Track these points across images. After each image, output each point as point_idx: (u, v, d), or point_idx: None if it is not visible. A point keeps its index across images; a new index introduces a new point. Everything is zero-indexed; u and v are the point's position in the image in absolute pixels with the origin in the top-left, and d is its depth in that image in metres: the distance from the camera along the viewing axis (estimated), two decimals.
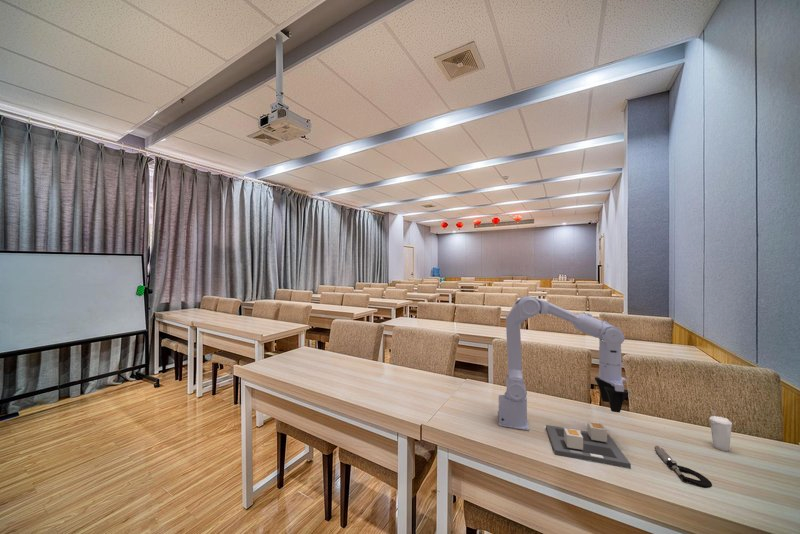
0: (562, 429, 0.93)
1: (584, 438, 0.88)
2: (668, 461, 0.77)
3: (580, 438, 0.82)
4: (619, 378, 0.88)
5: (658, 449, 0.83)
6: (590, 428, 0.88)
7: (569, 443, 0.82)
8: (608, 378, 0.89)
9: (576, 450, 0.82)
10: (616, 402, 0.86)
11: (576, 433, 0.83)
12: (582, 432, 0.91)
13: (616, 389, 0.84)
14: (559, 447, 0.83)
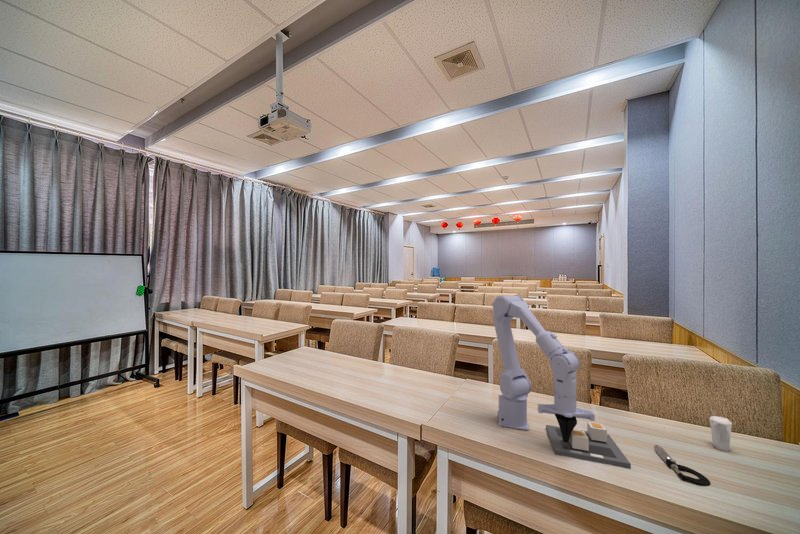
0: None
1: None
2: (667, 460, 0.78)
3: (586, 439, 0.81)
4: (557, 408, 0.84)
5: (658, 448, 0.83)
6: (590, 428, 0.88)
7: (574, 444, 0.82)
8: None
9: (576, 450, 0.82)
10: None
11: (581, 434, 0.83)
12: None
13: None
14: (559, 447, 0.83)
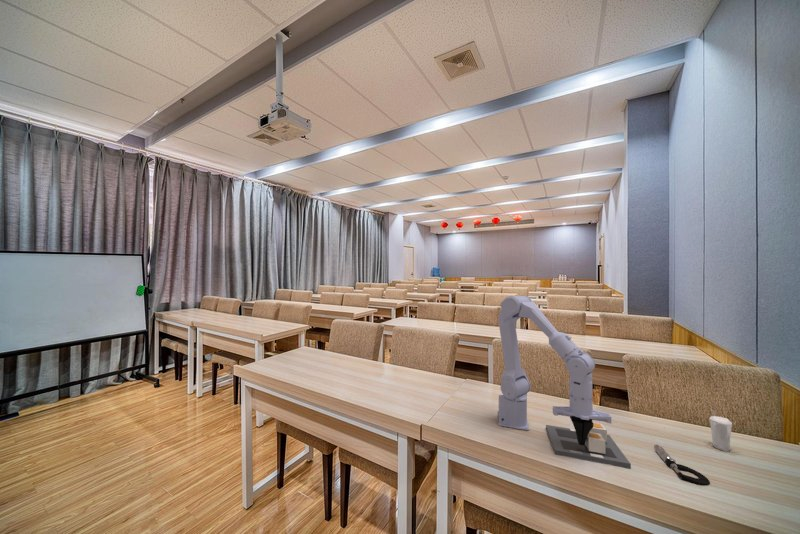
0: (562, 429, 0.93)
1: None
2: (667, 459, 0.78)
3: (603, 442, 0.80)
4: (573, 410, 0.83)
5: (657, 448, 0.83)
6: None
7: (591, 447, 0.81)
8: (569, 407, 0.86)
9: (576, 450, 0.82)
10: None
11: (598, 437, 0.81)
12: None
13: None
14: (559, 447, 0.83)
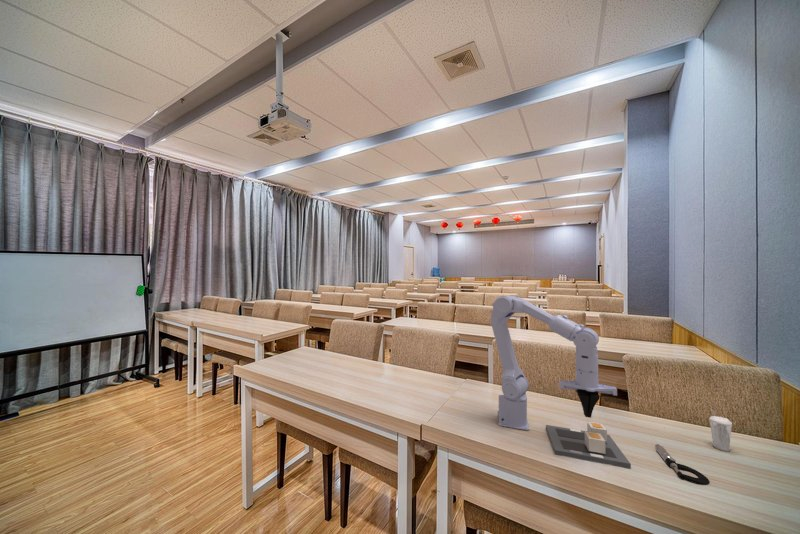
0: (562, 429, 0.93)
1: (584, 438, 0.88)
2: (667, 459, 0.78)
3: (603, 442, 0.80)
4: (579, 383, 0.85)
5: (658, 447, 0.83)
6: (590, 428, 0.88)
7: (591, 447, 0.81)
8: (576, 381, 0.88)
9: (576, 450, 0.82)
10: None
11: (598, 437, 0.81)
12: (582, 432, 0.91)
13: None
14: (559, 447, 0.83)
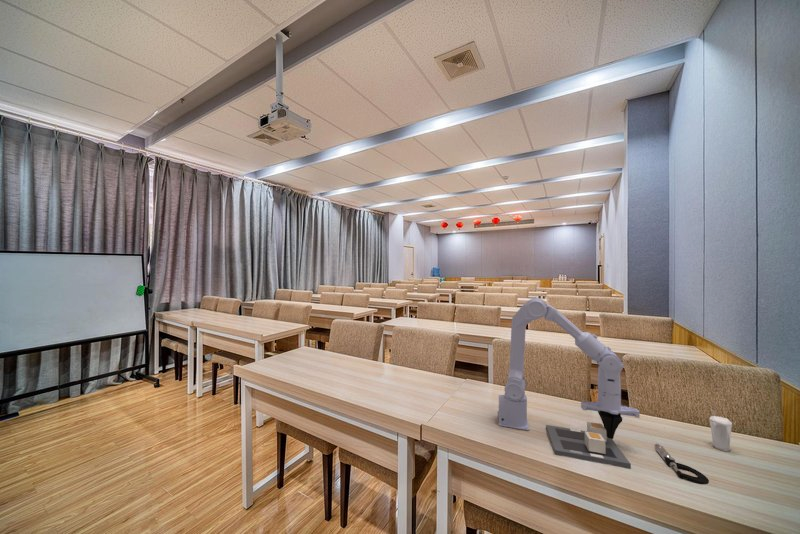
0: (562, 429, 0.93)
1: (584, 438, 0.88)
2: (666, 458, 0.79)
3: (603, 442, 0.80)
4: (602, 405, 0.86)
5: (658, 447, 0.84)
6: (590, 428, 0.88)
7: (591, 447, 0.81)
8: (597, 402, 0.89)
9: (576, 450, 0.82)
10: None
11: (598, 437, 0.81)
12: (582, 432, 0.91)
13: None
14: (559, 447, 0.83)
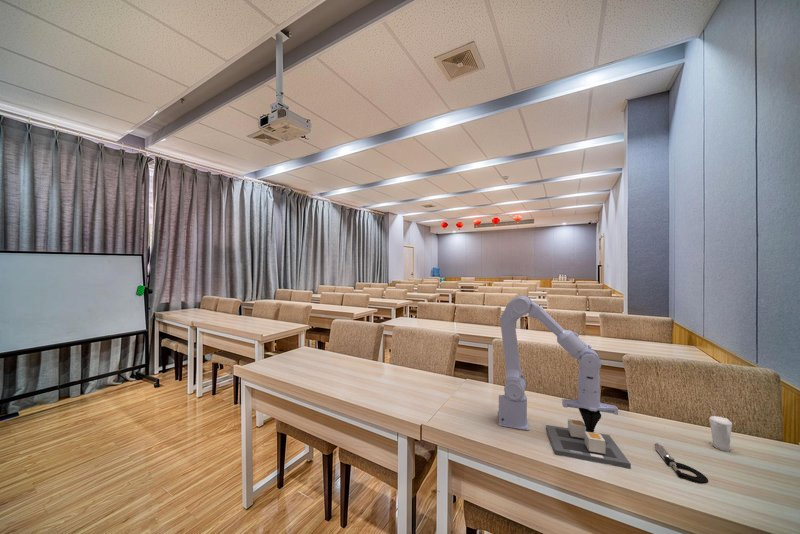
0: (562, 429, 0.93)
1: None
2: (666, 458, 0.79)
3: (603, 442, 0.80)
4: (582, 402, 0.88)
5: (657, 446, 0.84)
6: (570, 425, 0.89)
7: (591, 447, 0.81)
8: None
9: (576, 450, 0.82)
10: (586, 423, 0.89)
11: (598, 437, 0.81)
12: None
13: None
14: (559, 447, 0.83)
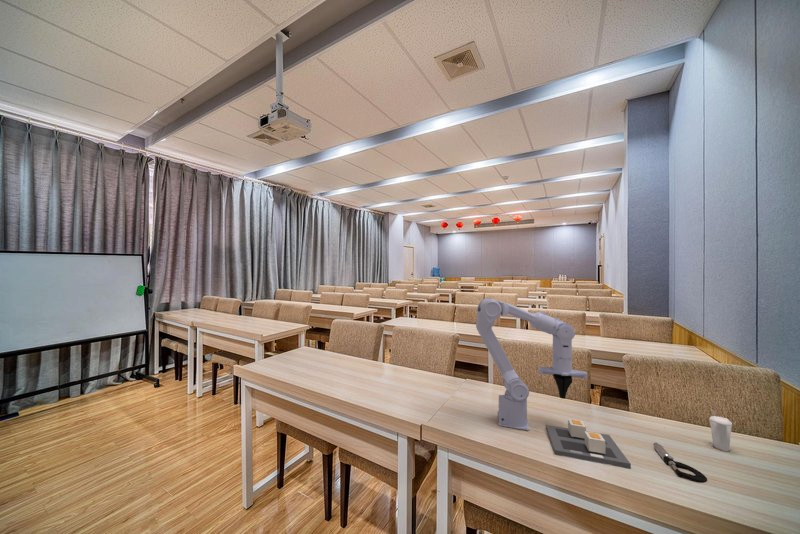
0: (562, 429, 0.93)
1: None
2: (665, 457, 0.79)
3: (603, 442, 0.80)
4: (555, 369, 0.97)
5: (656, 445, 0.84)
6: (570, 425, 0.89)
7: (591, 447, 0.81)
8: (553, 367, 1.00)
9: (576, 450, 0.82)
10: None
11: (598, 437, 0.81)
12: None
13: None
14: (559, 447, 0.83)
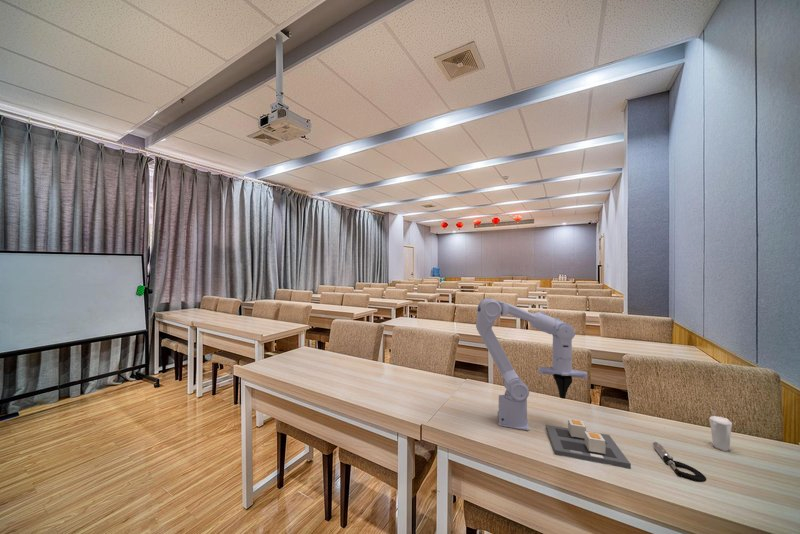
0: (562, 429, 0.93)
1: None
2: (664, 456, 0.79)
3: (603, 442, 0.80)
4: (555, 369, 0.97)
5: (656, 445, 0.84)
6: (570, 425, 0.89)
7: (591, 447, 0.81)
8: (553, 367, 1.00)
9: (576, 450, 0.82)
10: None
11: (598, 437, 0.81)
12: None
13: None
14: (559, 447, 0.83)
